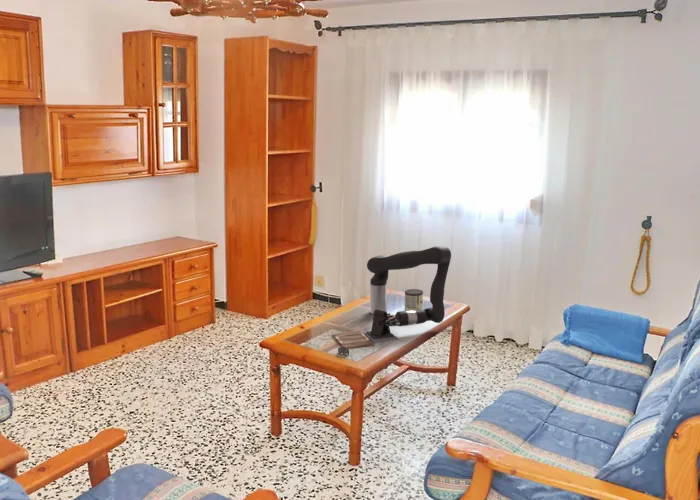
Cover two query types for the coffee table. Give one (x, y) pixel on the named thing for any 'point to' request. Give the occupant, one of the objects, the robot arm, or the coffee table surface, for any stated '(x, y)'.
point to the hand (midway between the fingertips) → (375, 321)
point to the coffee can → (413, 300)
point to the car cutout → (343, 350)
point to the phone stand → (379, 329)
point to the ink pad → (380, 339)
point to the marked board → (352, 339)
